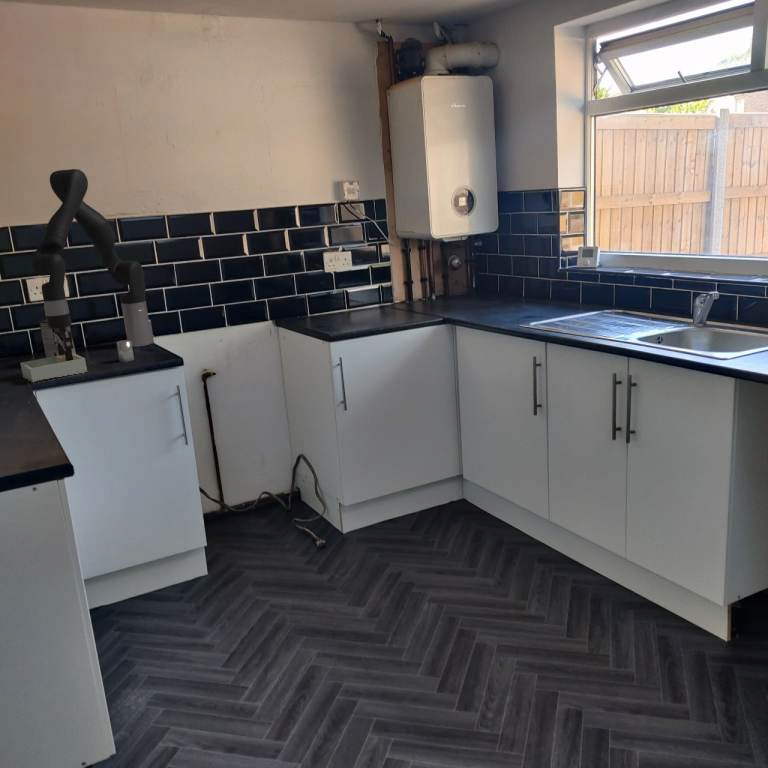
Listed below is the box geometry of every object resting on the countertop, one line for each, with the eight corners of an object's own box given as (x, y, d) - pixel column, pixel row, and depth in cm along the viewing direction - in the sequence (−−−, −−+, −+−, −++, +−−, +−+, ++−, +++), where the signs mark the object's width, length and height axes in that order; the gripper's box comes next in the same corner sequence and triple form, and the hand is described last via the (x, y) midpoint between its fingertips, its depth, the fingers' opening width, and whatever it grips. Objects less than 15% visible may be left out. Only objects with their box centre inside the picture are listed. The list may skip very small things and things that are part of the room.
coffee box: (62, 358, 275) (54, 316, 271) (77, 358, 274) (69, 316, 270) (46, 364, 267) (38, 321, 262) (62, 364, 265) (53, 321, 261)
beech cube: (73, 367, 255) (71, 353, 254) (78, 369, 252) (75, 355, 250) (59, 370, 252) (56, 356, 251) (63, 372, 249) (60, 358, 247)
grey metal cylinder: (131, 357, 268) (128, 339, 266) (136, 359, 264) (133, 341, 262) (117, 360, 265) (114, 341, 263) (122, 362, 261) (119, 343, 259)
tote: (75, 366, 260) (73, 352, 259) (87, 372, 250) (84, 358, 248) (23, 376, 250) (20, 362, 248) (33, 383, 239) (30, 368, 238)
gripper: (75, 313, 243) (83, 359, 248) (63, 309, 254) (71, 354, 259) (51, 316, 239) (60, 364, 243) (40, 312, 250) (49, 358, 254)
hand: (66, 359), depth 251 cm, fingers open, 8 cm apart
